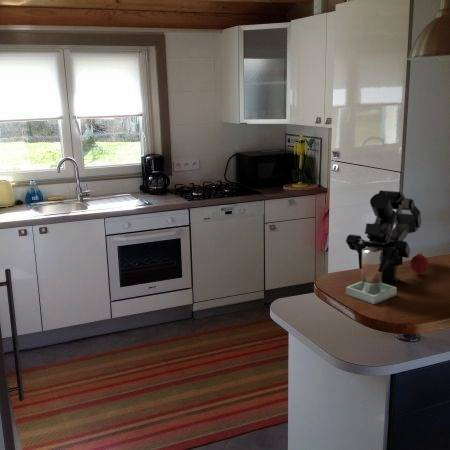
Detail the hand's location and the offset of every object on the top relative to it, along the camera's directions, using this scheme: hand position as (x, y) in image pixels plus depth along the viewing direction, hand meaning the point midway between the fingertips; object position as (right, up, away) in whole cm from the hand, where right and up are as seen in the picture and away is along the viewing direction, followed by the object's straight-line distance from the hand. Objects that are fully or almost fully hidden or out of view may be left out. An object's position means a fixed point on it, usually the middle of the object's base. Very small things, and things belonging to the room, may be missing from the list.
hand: (370, 270), depth 164 cm
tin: (+1, -6, +3) cm, 7 cm away
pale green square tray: (+1, -8, +3) cm, 8 cm away
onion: (+21, -3, +18) cm, 28 cm away
